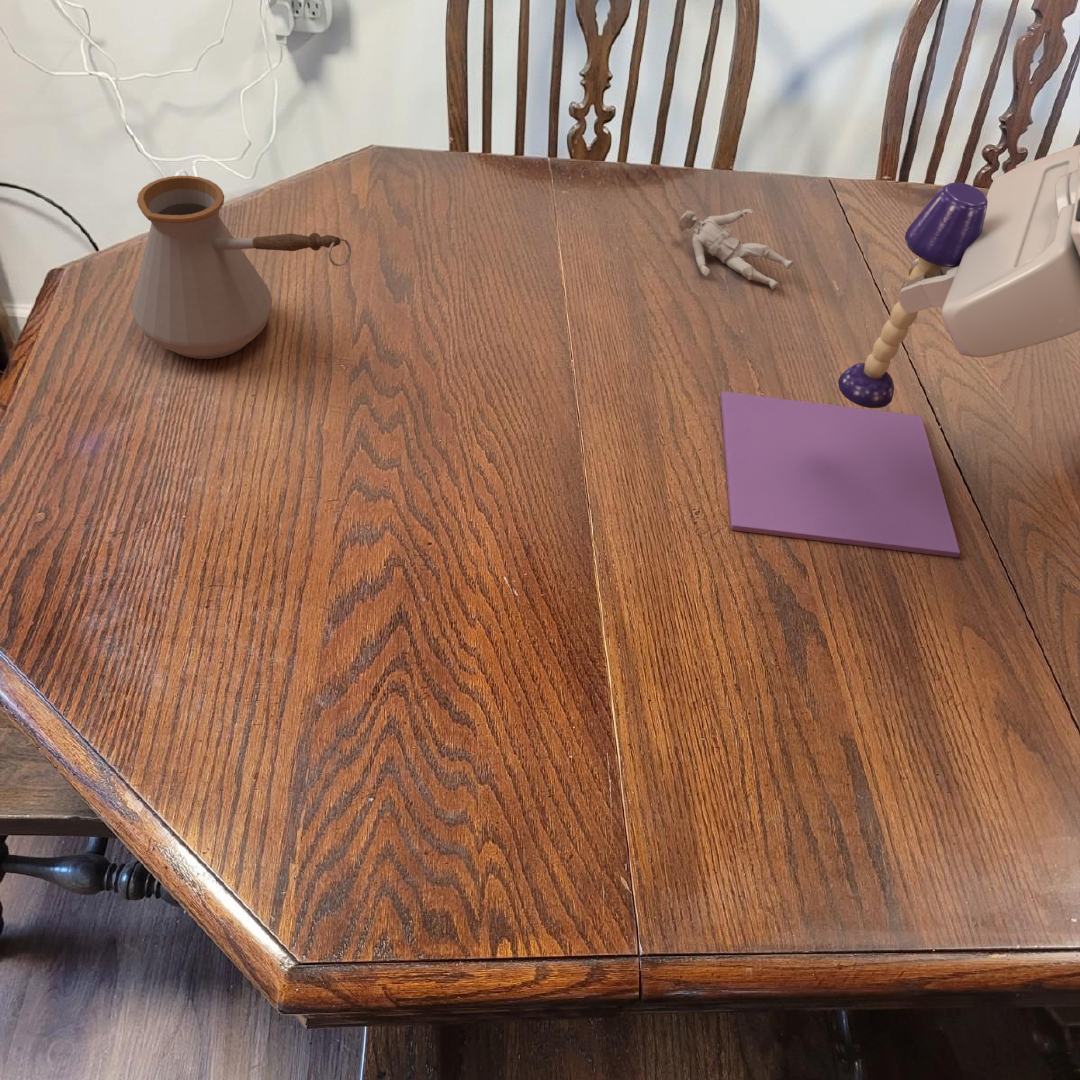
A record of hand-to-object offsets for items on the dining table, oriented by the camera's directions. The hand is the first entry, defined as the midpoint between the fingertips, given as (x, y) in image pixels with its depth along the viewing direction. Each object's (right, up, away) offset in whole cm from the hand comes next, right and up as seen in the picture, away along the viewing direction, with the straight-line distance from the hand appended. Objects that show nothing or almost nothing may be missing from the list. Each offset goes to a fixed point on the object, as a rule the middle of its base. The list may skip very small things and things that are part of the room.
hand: (908, 287), depth 65 cm
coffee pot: (-50, -1, +16) cm, 53 cm away
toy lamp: (0, -6, +7) cm, 9 cm away
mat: (-1, -12, +13) cm, 18 cm away
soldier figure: (-6, +11, +32) cm, 35 cm away
